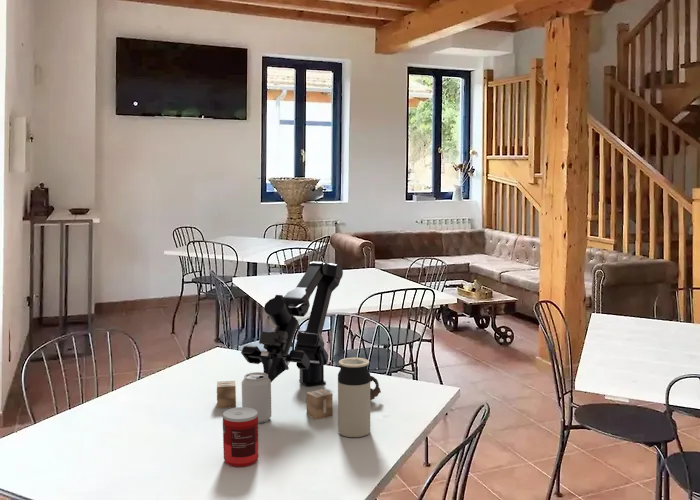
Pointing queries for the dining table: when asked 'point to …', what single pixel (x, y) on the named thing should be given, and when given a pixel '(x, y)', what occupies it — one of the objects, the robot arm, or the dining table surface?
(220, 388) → the marked block 1
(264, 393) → the can
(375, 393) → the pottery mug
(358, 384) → the travel mug
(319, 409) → the marked block 2
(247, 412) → the canned food
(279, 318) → the robot arm
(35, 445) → the dining table surface
